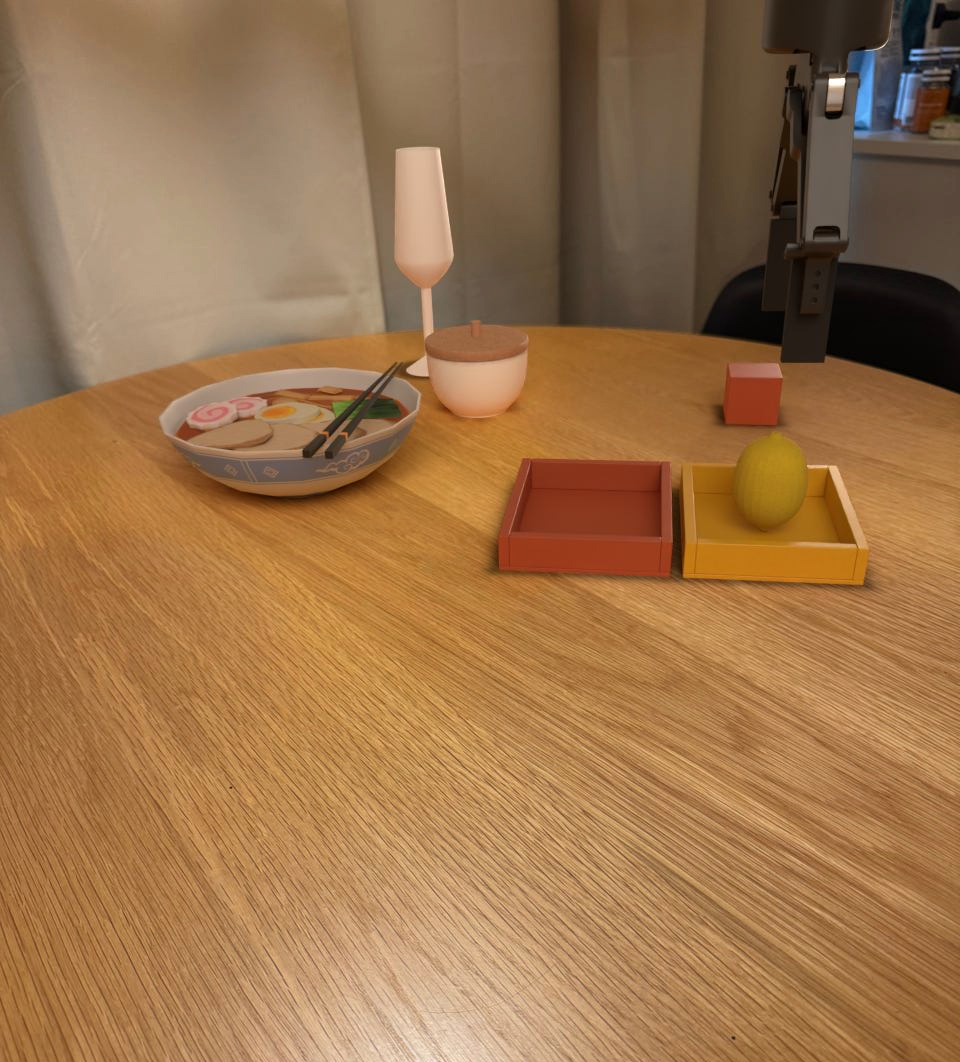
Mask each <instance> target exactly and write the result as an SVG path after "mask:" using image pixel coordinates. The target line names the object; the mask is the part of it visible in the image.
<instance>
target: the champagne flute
mask: <svg viewBox="0 0 960 1062" xmlns="http://www.w3.org/2000/svg"><path fill="white" fill-rule="evenodd" d="M394 168H395V173H394V175H395V178H394V246H393V247H394V248H393V249H394V251H393V252H394V253H393V256H394V262H395V265H396V266H397V267H398V269H399V270H400V271H401V273H402V274H403V275H404V276H405V277H406V278H407V279H408V280H410V282H411V283H413V284H414V285H415V286H417V287H419V288H420V294H421V295H420V296H421V313H422V329H423V345H424V347H425V339H426V337H427V336H429V335H430V334H432V333H434V332H435V330H434V317H433V316H434V315H433V299H432V297H433V295H432V287H433V286H435V285H436V284H437V283H438V282H440V280H441V279H442V278H443V277H444V276H445V275H446V273H447V272H448V270H449V269H450V267H451V265H452V263H453V261H454V256H455V254H454V247H453V246H454V245H453V238H452V233H451V231H452V230H451V226H450V225H451V224H450V217H449V209H448V201H447V194H446V193H447V192H446V186H445V179H444V172H443V170H444V169H443V164H442V157H441V149H440V147H437V146H412V147H402V148H397V149H395V167H394ZM405 370H406V371H405V372H406V373H407V374H409V375H411V376H416V377H429V373H428V367H427V356H426V351H425V350H424V356H422V357H421V358H420V359H418V360H416V361H415V362H414V363H412V364H411V365H410V366H408V367H407V368H406V369H405Z"/></svg>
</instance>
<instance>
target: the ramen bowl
mask: <svg viewBox="0 0 960 1062" xmlns="http://www.w3.org/2000/svg"><path fill="white" fill-rule="evenodd" d="M403 363H404V362H403V361H401V362H400V363H399V364H398V361H396V362H394V363H393V364H392V365H391V366H390V367H389V368H388V369H387V370H385V372H383V373H382V372H379V371H375V370H365V369H357V368H356V369H355V368H345V367H335V366H333V367H332V366H331V367H307V368H305V367H304V368H303V367H302V368H286V369H278V370H272V371H264V372H256V373H249V374H243V375H239V376H236V377H231V378H228V379H225V380H220V381H217V382H214V383H210V384H207V385H202V386H200V387H199V388H197V389H194V390H191V391H190V392H188V393H186V394H183V395H181V396H179V397H178V398H175V399H173V400H171V401H170V403H169V404H168V405H167V406H166V407H165V409H164V410H163V411H162V412H161V413H160V414H159V416H158V417H157V418H158V419H157V420H158V421H159V425H160V427H161V429H162V432H163V434H164V436H165V438H166V439H167V440H168V441H169V443H170V444H171V445H172V447H173V448H174V450H176V452H178V454H179V455H181V456H182V458H184V460H186V461H187V462H188V463H189V464H190V465H191V466H192V467H193V468H195V469H196V470H197V471H199V472H200V473H201V474H202V475H204V476H206V477H208V478H209V479H212V480H214V481H216V482H219V483H221V484H223V485H225V486H227V487H229V488H232V489H234V490H237V491H239V492H245V493H251V494H258V495H263V496H269V497H270V496H271V497H278V498H284V499H301V498H303V499H304V498H310V497H315V496H321V495H324V494H326V493H329V492H331V491H334V490H337V489H339V488H341V487H344V486H346V485H347V486H348V485H349V484H353V483H355V482H357V481H360V480H362V479H364V478H366V477H367V476H368V475H370V474H371V473H372V472H374V471H376V470H377V469H378V468H379V467H381V466H382V465H383V464H385V463H386V462H388V461H389V460H390V459H391V458H393V457H394V455H395V454H396V453H397V451H398V450H399V449H400V448H401V447H402V445H403V444H404V442H405V440H406V438H407V437H408V435H409V434H410V432H411V430H412V428H413V427H414V424H415V421H416V419H417V416H418V414H419V412H420V407H421V406H420V405H421V400H422V392H421V391H419V390H418V389H417V388H416V387H415V386H414V385H412V384H411V383H410V382H409V381H408V380H407V379H403V378H400V377H396V376H395V375H396V374H397V373H398V371H399V369H400V368H401V367H402V366H403ZM397 364H398V365H397ZM396 366H397V367H396ZM395 367H396V368H395ZM393 368H395V369H394V370H393ZM392 370H393V371H392ZM391 371H392V372H391ZM390 372H391V374H390V375H389V373H390Z"/></svg>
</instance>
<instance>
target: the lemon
mask: <svg viewBox="0 0 960 1062" xmlns="http://www.w3.org/2000/svg"><path fill="white" fill-rule="evenodd" d="M736 463H737V464H736V467H735V471H734V475H733V482H732V494H733V500H734V503H735V506H736V508H737V510H738V512H739V513H740V514H741V515H742V516H743V518H745V519H746V520H747V521H749V522H750V523H752V524H755V525H756V526H757V527H758V528H759V529H760V530H761V531H768V530H769V529H771V528H772V527H773V526H778V525H781V524H783V523H785V522H787V521H788V520H790V519H791V518H792V517H793V516H794V515H795V514H796V513H797V512H798V511H799V509H800V508H801V506H802V504H803V501H804V499H805V496H806V492H807V487H808V467H807V465H808V462H807V459H806V456H805V454H804V451H803V450H802V448H801V447H800V446H799V445H798V444H797V443H796V442H795V441H793V440H792V439H790V438H788V437H786V436H784V435H782V433H781V432H780V431H771V432H770V433H769V434H767V435H764V436H760V437H759V438H757V439H754V440H752V441H751V442H750V443H749V444H748V445H747V446H746V447H745V448H744V449H743V451H742V452H741V453H740V455H739V457H738V458H737V461H736Z"/></svg>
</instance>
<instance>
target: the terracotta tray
mask: <svg viewBox="0 0 960 1062" xmlns="http://www.w3.org/2000/svg"><path fill="white" fill-rule="evenodd" d="M513 484H514V485H513V488H512V491H511V494H510V496H509V500H508V503H507V507H506V509H505V510H506V511H505V513H504V516H503V519H502V522H501V527H500V529H499V531H498V535H497V539H498V540H497V547H498V548H497V549H498V551H497V552H498V570H499V571H516V572H538V573H540V572H542V573H562V574H563V573H564V574H585V575H586V574H588V575H610V576H634V577H635V576H637V577H657V578H658V577H660V578H662V577H663V578H670V577H671V571H672V558H673V557H672V556H673V543H674V542H673V539H674V538H673V499H672V498H673V496H672V462H671V461H660V460H659V461H656V460H655V461H652V460H619V459H618V460H613V459H608V460H607V459H578V458H577V459H576V458H575V459H573V458H539V457H538V458H537V457H536V458H532V457H523V458H522V460H521V463H520V466H519V469H518V472H517V475H516V479H515V482H514V483H513Z"/></svg>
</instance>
